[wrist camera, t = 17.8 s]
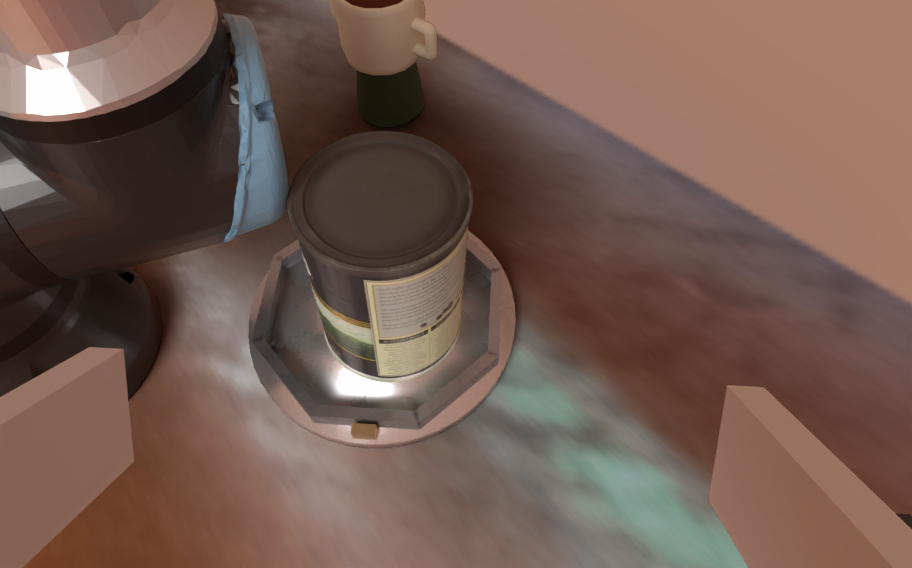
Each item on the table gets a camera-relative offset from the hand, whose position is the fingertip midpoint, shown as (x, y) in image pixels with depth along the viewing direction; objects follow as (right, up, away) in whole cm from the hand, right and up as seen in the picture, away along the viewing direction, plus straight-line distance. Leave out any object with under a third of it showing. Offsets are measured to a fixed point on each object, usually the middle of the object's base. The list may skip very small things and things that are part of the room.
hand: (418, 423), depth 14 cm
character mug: (-5, +20, +46) cm, 51 cm away
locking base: (-5, 0, +35) cm, 35 cm away
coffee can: (-4, 0, +33) cm, 34 cm away
